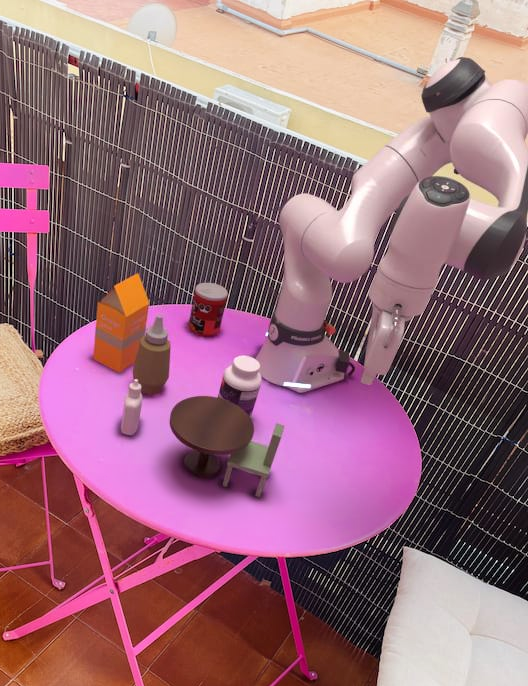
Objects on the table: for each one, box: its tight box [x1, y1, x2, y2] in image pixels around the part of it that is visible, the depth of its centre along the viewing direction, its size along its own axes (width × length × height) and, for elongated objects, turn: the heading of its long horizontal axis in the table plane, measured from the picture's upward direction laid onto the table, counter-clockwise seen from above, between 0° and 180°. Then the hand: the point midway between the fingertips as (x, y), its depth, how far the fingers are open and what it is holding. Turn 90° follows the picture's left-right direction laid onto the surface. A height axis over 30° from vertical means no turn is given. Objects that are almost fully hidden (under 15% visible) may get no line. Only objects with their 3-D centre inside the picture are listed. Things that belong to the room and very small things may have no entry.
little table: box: [169, 395, 255, 478], centre depth 132 cm, size 16×16×11 cm
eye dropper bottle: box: [120, 379, 143, 436], centre depth 137 cm, size 4×6×12 cm
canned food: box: [188, 282, 228, 338], centre depth 169 cm, size 8×8×11 cm
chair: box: [222, 423, 285, 498], centre depth 130 cm, size 8×8×14 cm
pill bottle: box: [217, 355, 263, 419], centre depth 143 cm, size 8×8×14 cm
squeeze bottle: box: [132, 314, 172, 396], centre depth 146 cm, size 8×8×18 cm
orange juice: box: [92, 272, 150, 373], centre depth 151 cm, size 8×9×20 cm
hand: (367, 367), depth 113 cm, fingers open, 8 cm apart
